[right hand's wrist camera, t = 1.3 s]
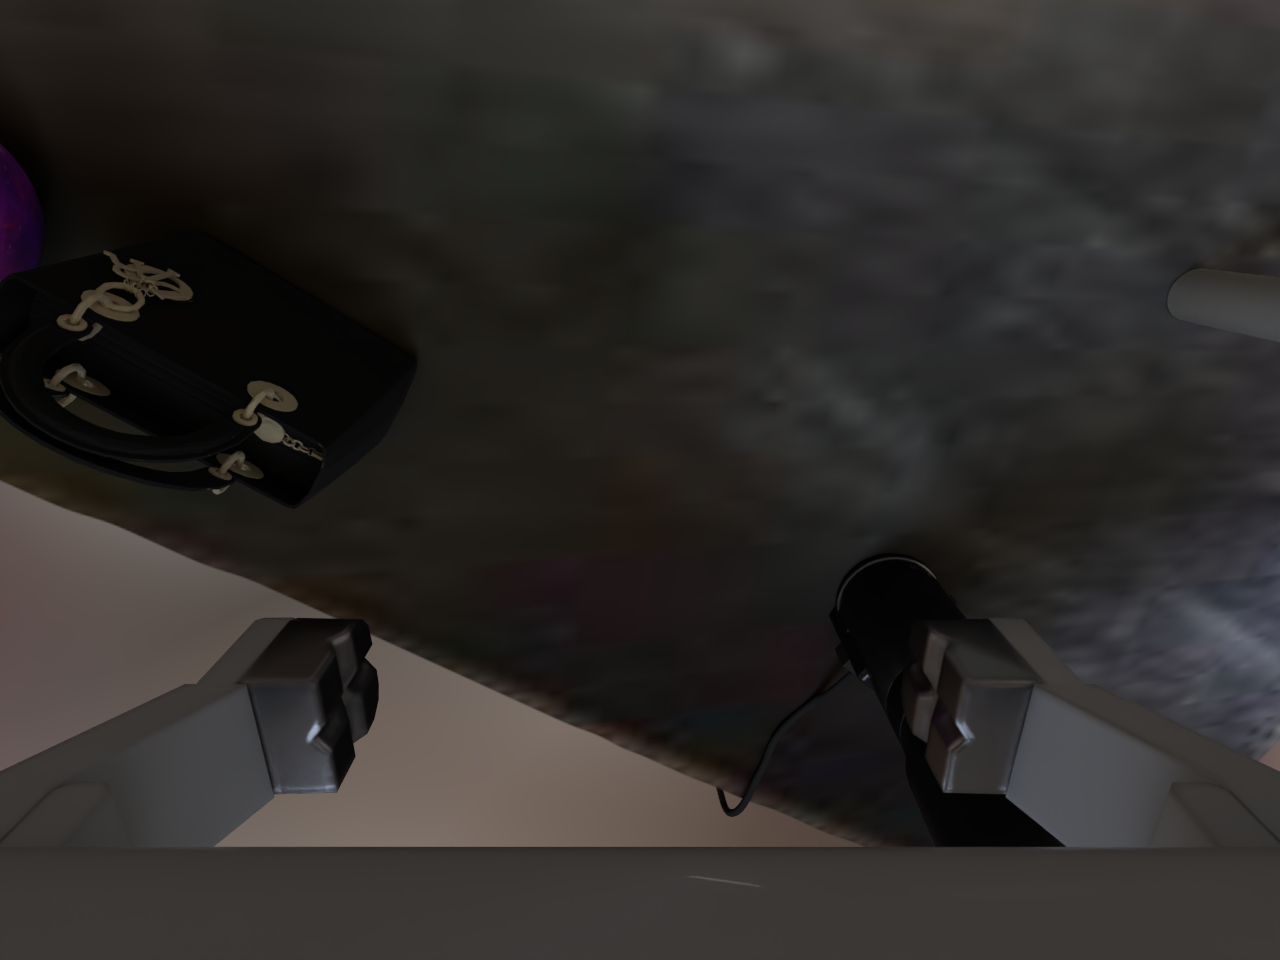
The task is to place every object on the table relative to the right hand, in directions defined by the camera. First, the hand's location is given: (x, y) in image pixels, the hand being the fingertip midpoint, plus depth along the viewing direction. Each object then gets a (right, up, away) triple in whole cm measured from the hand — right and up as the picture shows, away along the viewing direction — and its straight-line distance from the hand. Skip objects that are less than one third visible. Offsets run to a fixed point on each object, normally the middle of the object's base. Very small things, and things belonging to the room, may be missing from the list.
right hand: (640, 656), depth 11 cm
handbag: (-28, +14, +46) cm, 56 cm away
